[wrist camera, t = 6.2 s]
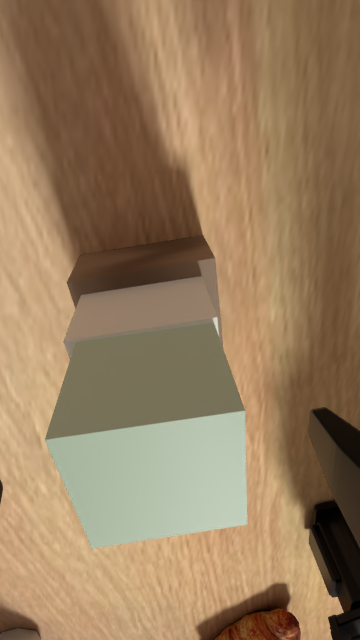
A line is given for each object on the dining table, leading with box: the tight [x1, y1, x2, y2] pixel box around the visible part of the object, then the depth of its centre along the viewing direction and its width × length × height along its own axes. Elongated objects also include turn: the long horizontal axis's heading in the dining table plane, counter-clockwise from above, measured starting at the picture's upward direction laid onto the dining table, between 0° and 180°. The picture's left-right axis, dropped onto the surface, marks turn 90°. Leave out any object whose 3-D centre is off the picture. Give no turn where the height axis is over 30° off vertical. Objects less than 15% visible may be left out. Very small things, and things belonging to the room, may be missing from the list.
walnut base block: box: [67, 235, 223, 347], centre depth 17 cm, size 6×6×4 cm
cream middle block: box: [64, 276, 219, 359], centre depth 14 cm, size 5×5×4 cm
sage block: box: [45, 323, 247, 549], centre depth 11 cm, size 4×4×4 cm
